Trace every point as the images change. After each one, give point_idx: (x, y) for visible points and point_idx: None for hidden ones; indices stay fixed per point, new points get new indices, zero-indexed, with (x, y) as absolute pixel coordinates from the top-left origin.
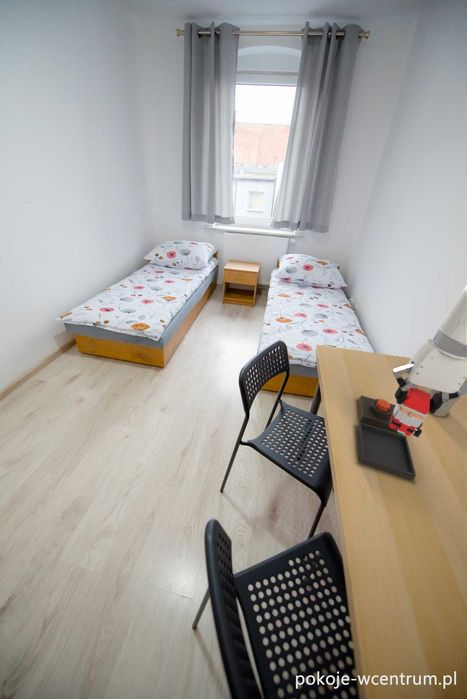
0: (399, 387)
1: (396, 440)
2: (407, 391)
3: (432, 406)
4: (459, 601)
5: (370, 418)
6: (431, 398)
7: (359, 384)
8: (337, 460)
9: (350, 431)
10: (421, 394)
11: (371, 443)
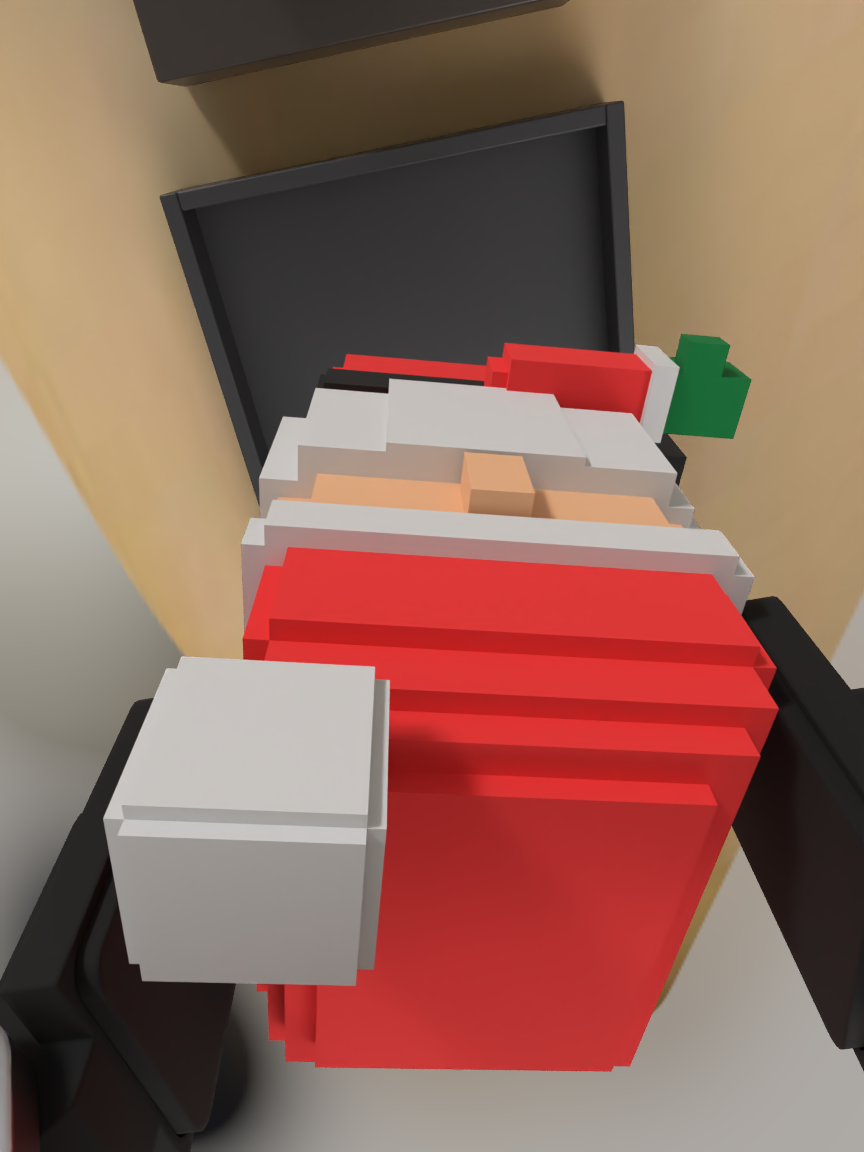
0: (8, 1018)
1: (539, 166)
2: (182, 1118)
3: (753, 822)
4: (715, 884)
5: (238, 62)
6: (785, 730)
7: None
8: (165, 607)
9: (147, 285)
10: (518, 927)
11: (331, 352)
